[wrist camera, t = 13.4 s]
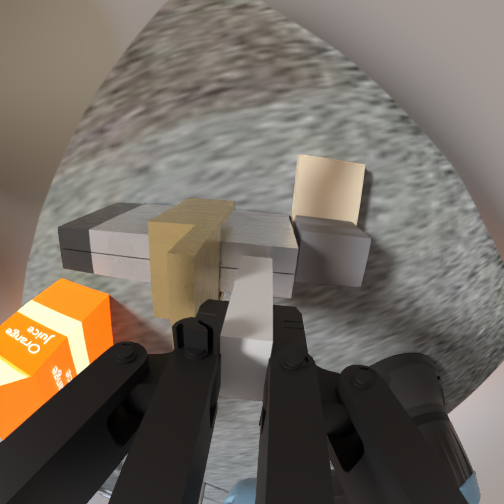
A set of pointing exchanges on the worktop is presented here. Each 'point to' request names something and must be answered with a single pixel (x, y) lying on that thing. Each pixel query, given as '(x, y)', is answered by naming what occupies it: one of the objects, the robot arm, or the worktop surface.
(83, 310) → the orange juice
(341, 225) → the stand
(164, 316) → the lock collar
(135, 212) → the tongs arm
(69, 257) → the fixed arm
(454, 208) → the worktop surface
